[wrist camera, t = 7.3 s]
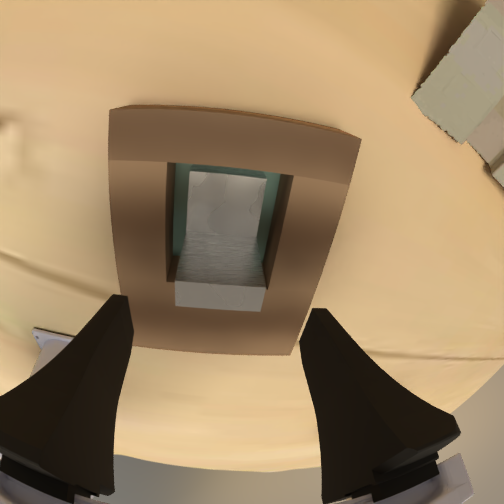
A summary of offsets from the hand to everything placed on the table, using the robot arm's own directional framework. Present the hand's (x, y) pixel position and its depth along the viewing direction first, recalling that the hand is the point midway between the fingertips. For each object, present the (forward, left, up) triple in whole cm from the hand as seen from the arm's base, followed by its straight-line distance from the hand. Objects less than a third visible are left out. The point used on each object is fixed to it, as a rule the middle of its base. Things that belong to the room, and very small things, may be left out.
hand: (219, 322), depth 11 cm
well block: (-1, 0, -8) cm, 8 cm away
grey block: (+1, 0, -8) cm, 8 cm away
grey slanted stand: (+15, -19, -9) cm, 26 cm away
